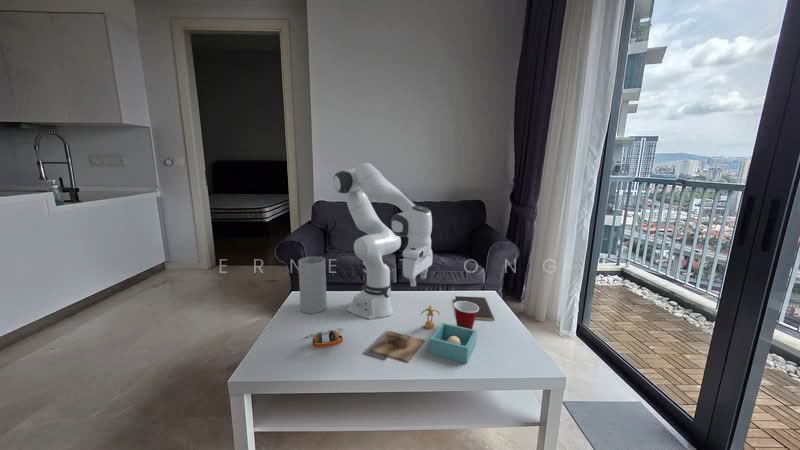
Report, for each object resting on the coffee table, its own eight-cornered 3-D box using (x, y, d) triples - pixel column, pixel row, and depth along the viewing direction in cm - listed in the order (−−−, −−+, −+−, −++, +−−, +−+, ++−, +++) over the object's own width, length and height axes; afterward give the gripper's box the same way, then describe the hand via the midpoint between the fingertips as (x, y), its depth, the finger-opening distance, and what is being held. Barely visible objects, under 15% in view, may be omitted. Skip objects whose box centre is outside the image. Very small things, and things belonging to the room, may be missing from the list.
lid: (369, 352, 122) (369, 339, 122) (389, 332, 137) (389, 321, 136) (408, 363, 116) (408, 350, 115) (424, 342, 130) (425, 330, 129)
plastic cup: (478, 339, 133) (479, 312, 131) (451, 336, 135) (452, 309, 133) (477, 326, 144) (479, 301, 142) (452, 324, 146) (453, 299, 144)
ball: (445, 350, 123) (445, 338, 122) (449, 344, 128) (449, 332, 127) (458, 353, 121) (458, 341, 120) (461, 347, 125) (462, 335, 125)
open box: (429, 355, 121) (430, 338, 120) (442, 338, 134) (442, 322, 132) (466, 366, 115) (467, 348, 114) (475, 346, 128) (476, 330, 126)
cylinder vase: (327, 302, 167) (326, 256, 163) (325, 313, 155) (323, 263, 151) (302, 304, 166) (300, 256, 161) (298, 315, 154) (296, 264, 149)
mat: (363, 353, 122) (363, 352, 122) (386, 332, 138) (386, 330, 138) (411, 368, 114) (411, 366, 114) (430, 343, 130) (430, 342, 130)
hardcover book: (459, 320, 151) (459, 315, 151) (455, 300, 174) (455, 296, 173) (494, 321, 150) (494, 317, 149) (485, 301, 172) (485, 297, 172)
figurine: (438, 327, 143) (439, 301, 141) (440, 333, 137) (441, 307, 135) (419, 326, 143) (420, 301, 141) (420, 333, 137) (421, 307, 135)
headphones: (341, 321, 142) (352, 332, 123) (342, 333, 142) (353, 346, 123) (301, 329, 135) (306, 342, 117) (302, 341, 135) (307, 356, 117)
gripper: (422, 241, 136) (421, 273, 139) (400, 253, 118) (399, 289, 121) (436, 243, 133) (435, 275, 136) (416, 256, 115) (414, 292, 118)
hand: (418, 282), depth 128 cm, fingers open, 8 cm apart
